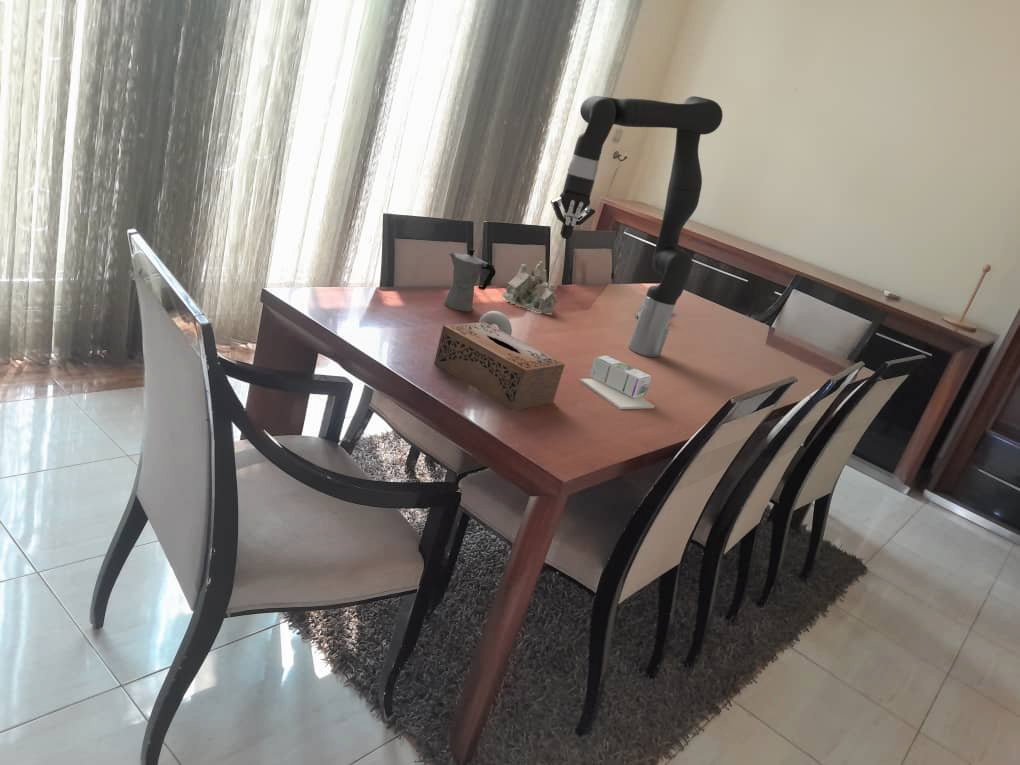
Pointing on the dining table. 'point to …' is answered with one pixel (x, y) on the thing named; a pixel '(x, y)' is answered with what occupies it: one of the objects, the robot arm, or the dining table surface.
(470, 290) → the coffeepot
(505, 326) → the donut
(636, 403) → the mat
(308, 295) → the dining table surface
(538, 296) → the ceramic cottage
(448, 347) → the tissue box cover
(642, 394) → the syrup box
